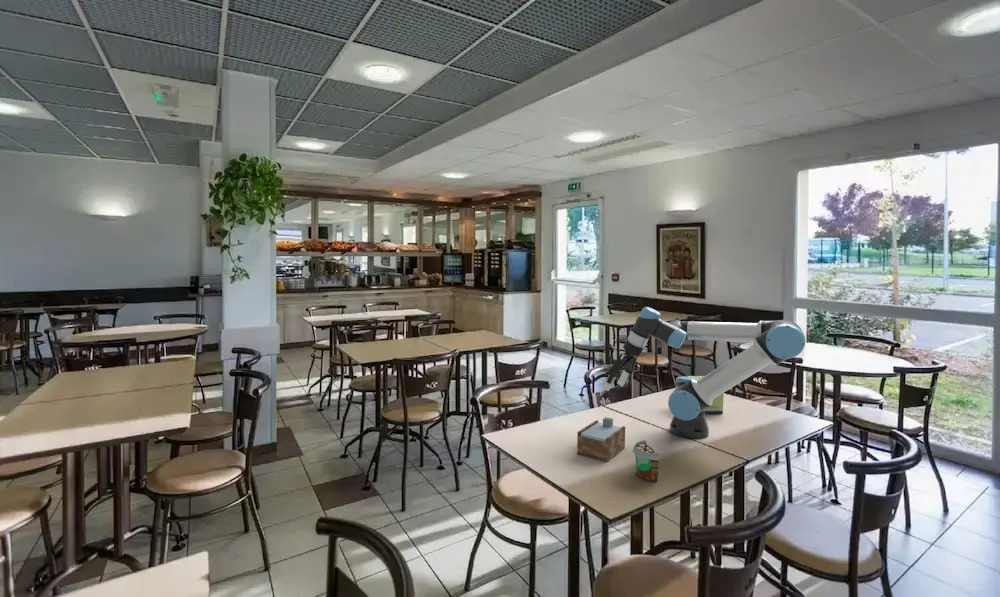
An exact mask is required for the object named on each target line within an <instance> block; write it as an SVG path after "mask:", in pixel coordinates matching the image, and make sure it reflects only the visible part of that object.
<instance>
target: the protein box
mask: <svg viewBox="0 0 1000 597" xmlns="http://www.w3.org/2000/svg"><path fill="white" fill-rule="evenodd" d="M704 376H705V375H683V377H694V378H700V379H701V378H702V377H704ZM724 394H725V392H724V393H722V394H721V395H719V396H717V397H716V398H714V399H713V402H712V405H711V406H709V407H708V408H706V409H705V415H723V414H724V396H725V395H724Z"/></svg>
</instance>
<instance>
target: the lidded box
mask: <svg viewBox="0 0 1000 597" xmlns="http://www.w3.org/2000/svg"><path fill="white" fill-rule="evenodd" d="M598 422H599V419H597V420H594V421H592V422H591V423H590V424H588V425H586V426H585V427H583V428H582V429H580V430H579V431H577V432H576V433H577V434H576V435H577V438H576V440H577V441H576V443H577V444H576V446H577V448H576V450H577V451H576V452H577V455H579V456H582V457H585V458H590V459H592V460H593V459H594V460H597V461H600V462H606V463H609V462H610V461H611V460H612V459H613V458H615V457H617V455H618V454H619V453H620V452H622V451H623V450H624V449H625V448H626V426H624V425H622V426H620V427H621V428H620V429H619V430H617V431H616V432H614V433H613V434H612V435H610V436H609V437H607V438H606V442H603V441H599V440H595V439H590V438H586V437H582V436H581V433H582V432H584V431H586V430H587V429H589V428H590V427H592V426H593V425H595V424H596V423H598Z"/></svg>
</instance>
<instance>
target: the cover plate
mask: <svg viewBox="0 0 1000 597" xmlns="http://www.w3.org/2000/svg"><path fill="white" fill-rule="evenodd" d="M621 427H622V426H616V425H614V418H612V417H607V416H605V417H604V418H602V422H599V421H598V423H596V424H595V425H593V426H592V427H590V428H589V429H587V430H586V431H584V432H582V433H581V436H582V437H586V438H590V439H595V440H599V441H603V442H606V438H607V437H609V436H610V435H612V434H613V433H614V432H616V431H617V430H619V429H620V428H621Z"/></svg>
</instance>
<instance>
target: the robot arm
mask: <svg viewBox="0 0 1000 597" xmlns="http://www.w3.org/2000/svg"><path fill="white" fill-rule="evenodd" d="M661 315H662V314H661V313H660V312H659V311H657V310H656V309H653V308H652V307H649V306H644V307H643V308H642V309H641V311H640V313H639V315H638V316H637V318H636V320H635V322H634V324H633V326H632V329H631V330H630V331H628V333H629V335H628V337H627V339H626V340H625V343H624V344H623V347H622V348H623V350H624V351H625V352H624V353H620V354H619V356H618V358H617V359H616V361H615V362H614V363H613V365H612V366H611V367H610V369H609V370H608V371H607V374H608V377H607V378H606V381H605V382H604V385H603V386H602V388H603V389H604V391H607V392H609V391H610V390H611V389H612V386H613V384H614V382H615V381H616V378H617V377H616V376H617V375H618V374H619V373H620V372H621V370H623V368H624V370H623V371H622V372H621V374H620V376H619V379H618V380H617V382H616V384H617V385H618V386H620V387H624V385H625V383H626V381H627V380H628V377H629V376H630V375H632V374H633V371H634V370H635V366H636V362H637V360H638V357H639V356H641V355H642V353H643V351H644V347H646V346H647V344H648V341H649V339H650V337H653V338H655V339H657V340H658V341H661V342H663V344H666V345H668V346H669V347H672V348H674V349H680V348H681V346H682V345H683V343H684V341H685V340H687V341H691V340H692V341H707V342H710V341H711V342H712V341H713V342H732V343H753V344H752V345H751V346H749V347H748V348H746V349H744V350H743V351H741V352H740V353H738V354H736V355H735V356H733V357H732V358H731V359H728V360H727V361H726V362H724V363H723V364H721V365H720V366H718V367H717V368H715V369H714V370H711V371H710V372H709V373H708V374H706V375H703V376H704V377H702V378H701V379H700V378H694V377H684V376H677V377H676V378H675V383H674V384H675V389H674V390H673V392H671V393H670V395H669V397H668V402H667V405H668V409H669V411H670V413H671V414H672V418H671V421H670V424H669V431H670V432H671V433H672V434H674V435H676V436H678V437H682V438H688V439H703V438H707V437H708V436H709V434H710V433H709V432H710V429H709V425H708V422H707V419H706V414H705V409H706V408H708V407H709V406H711V405H712V402H713V399H714V398H716V397H717V396H719V395H721V394H722V393H724V394H725V392H727V391H729V390H730V389H732V388H733V387H736V386H737V385H738V384H740V383H742V382H743V381H745V380H747V379H748V378H750V377H751V376H753V375H755V374H756V373H758V372H759V371H761V370H762V369H765V368H766V367H768V366H769V365H773V366H778V365H780V364H781V363H783V362H784V361H785V362H786V360H789V359H790V360H791V359H793V358H795V357H797V356H799V355H800V354H801V353H802V352H803V350H804V348H805V346H806V335H805V333H804V332H803V330H802V329H801V327H800V326H799V325H798V324H797V323H795V321H791V320H786V319H779V320H759V321H758V322H722V321H720V322H719V321H692V320H691V321H684V320H683V321H681V320H679V319H675V320H674V319H673V320H670V321H669V322H667V321H665V320H663V319H661Z"/></svg>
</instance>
